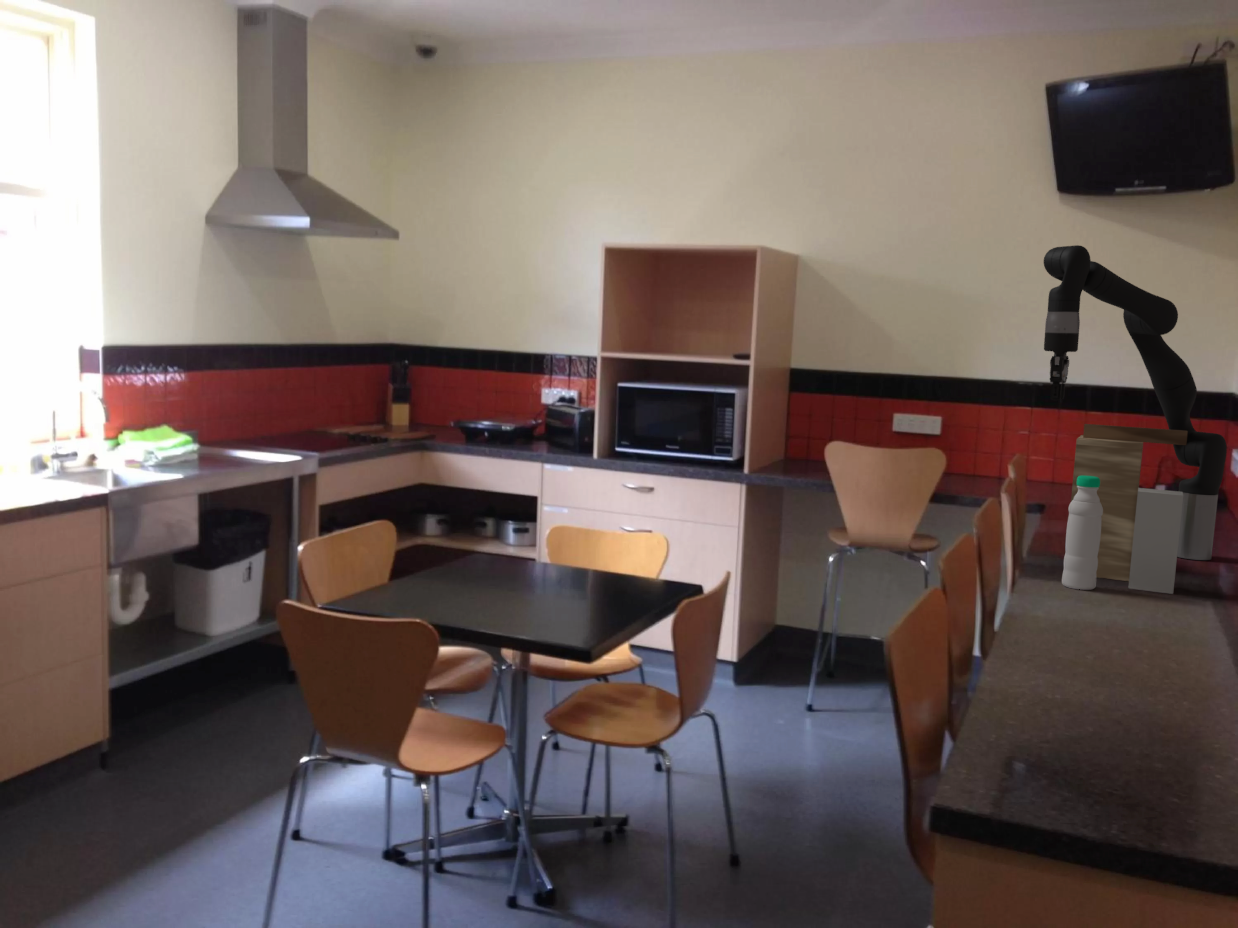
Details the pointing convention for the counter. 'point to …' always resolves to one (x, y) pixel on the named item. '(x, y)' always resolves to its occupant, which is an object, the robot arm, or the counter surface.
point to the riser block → (1155, 540)
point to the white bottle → (1083, 536)
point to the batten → (1135, 434)
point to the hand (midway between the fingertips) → (1057, 399)
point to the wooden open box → (1112, 498)
